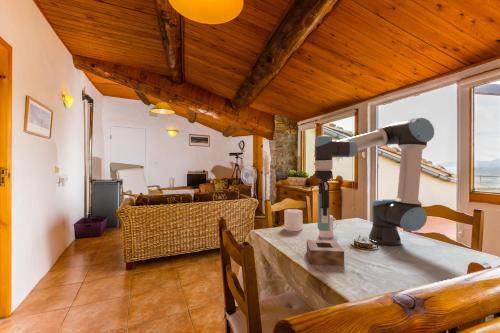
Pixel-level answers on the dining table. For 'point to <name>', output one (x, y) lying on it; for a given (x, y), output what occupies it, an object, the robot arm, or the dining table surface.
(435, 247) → the dining table surface
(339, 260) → the socket
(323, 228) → the peg
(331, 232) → the mug
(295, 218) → the cup
